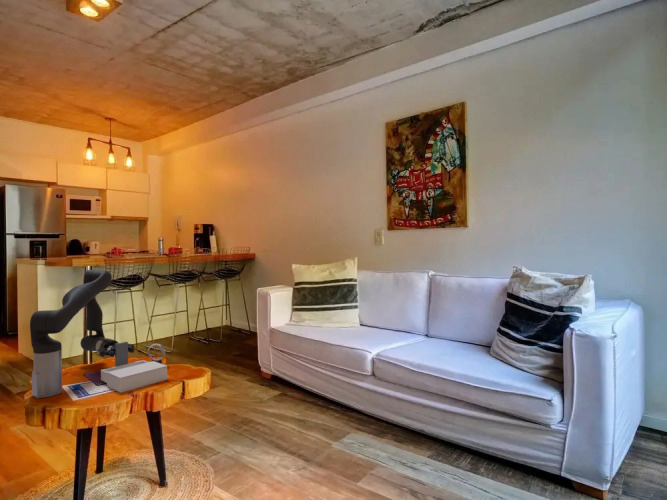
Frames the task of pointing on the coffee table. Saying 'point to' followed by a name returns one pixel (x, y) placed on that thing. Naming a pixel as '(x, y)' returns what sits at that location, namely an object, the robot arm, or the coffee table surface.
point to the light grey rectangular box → (136, 376)
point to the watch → (160, 350)
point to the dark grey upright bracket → (120, 360)
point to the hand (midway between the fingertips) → (123, 352)
